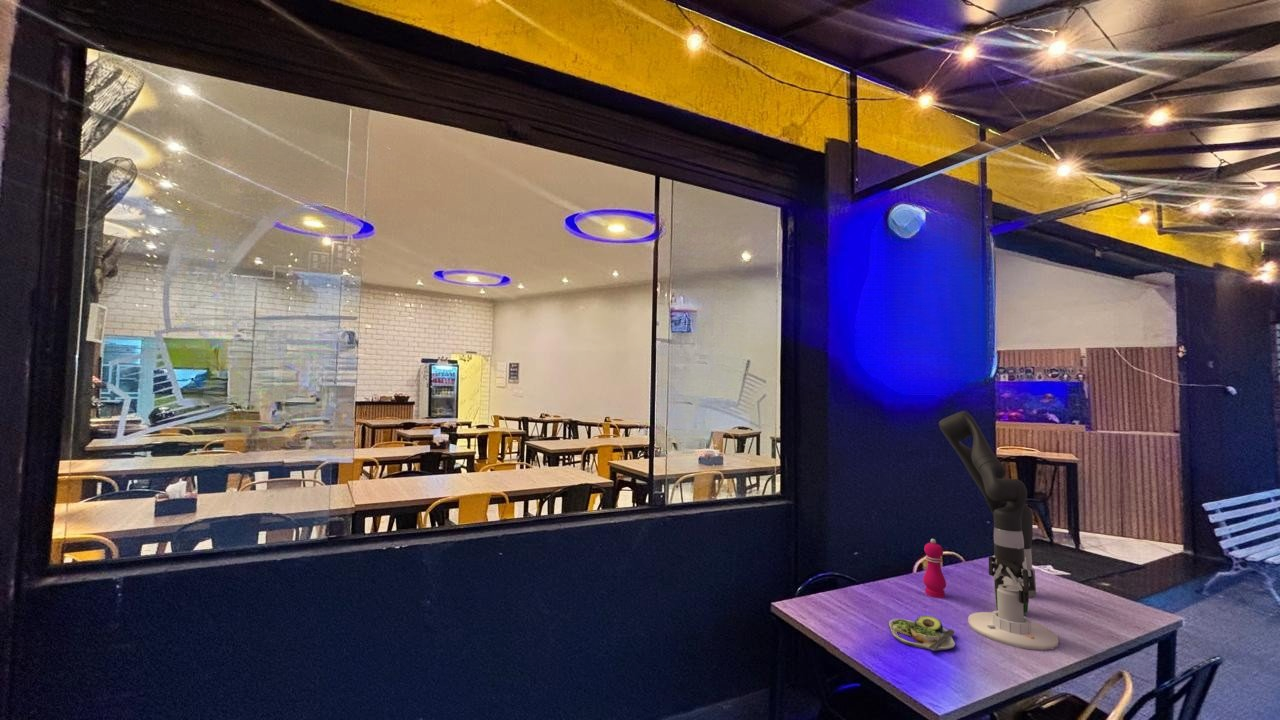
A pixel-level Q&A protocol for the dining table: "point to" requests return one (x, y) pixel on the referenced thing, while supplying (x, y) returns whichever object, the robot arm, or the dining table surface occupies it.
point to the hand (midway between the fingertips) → (1011, 597)
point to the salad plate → (923, 633)
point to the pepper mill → (934, 570)
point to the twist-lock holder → (1013, 631)
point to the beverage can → (1009, 603)
